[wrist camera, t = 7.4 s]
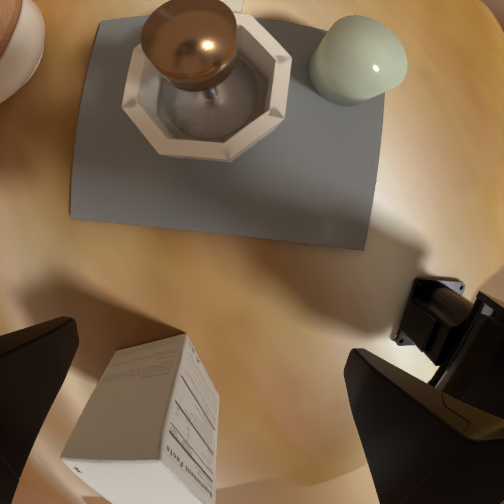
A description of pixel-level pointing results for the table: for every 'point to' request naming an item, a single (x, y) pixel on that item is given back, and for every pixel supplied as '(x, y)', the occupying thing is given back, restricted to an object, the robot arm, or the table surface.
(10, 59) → the lidded jar
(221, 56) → the coffee tamper
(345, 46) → the sage green dome
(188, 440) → the supplement box
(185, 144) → the octagonal white frame
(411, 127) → the table surface
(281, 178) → the slate tray
